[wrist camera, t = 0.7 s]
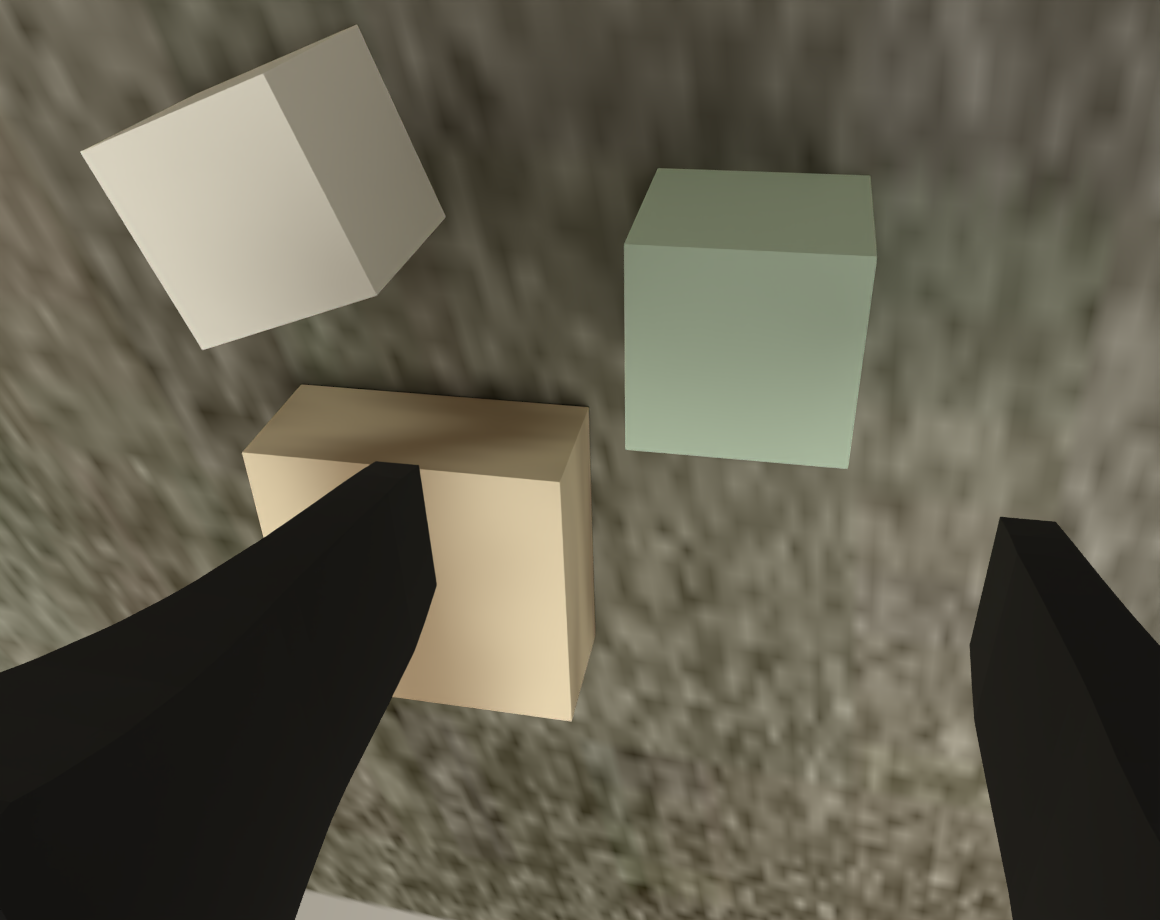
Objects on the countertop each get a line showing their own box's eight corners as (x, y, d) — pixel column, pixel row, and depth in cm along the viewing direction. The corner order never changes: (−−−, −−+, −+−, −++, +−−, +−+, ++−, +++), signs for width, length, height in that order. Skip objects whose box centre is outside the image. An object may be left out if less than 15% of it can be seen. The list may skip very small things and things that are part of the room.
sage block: (870, 174, 19) (877, 256, 16) (845, 362, 21) (847, 469, 18) (658, 166, 20) (623, 244, 17) (656, 350, 22) (625, 449, 19)
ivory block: (358, 23, 20) (262, 73, 16) (447, 216, 21) (376, 295, 18) (197, 93, 21) (80, 151, 18) (292, 267, 23) (202, 350, 20)
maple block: (588, 407, 23) (559, 482, 21) (595, 635, 27) (571, 721, 25) (301, 384, 24) (242, 452, 22) (347, 605, 28) (301, 683, 26)
